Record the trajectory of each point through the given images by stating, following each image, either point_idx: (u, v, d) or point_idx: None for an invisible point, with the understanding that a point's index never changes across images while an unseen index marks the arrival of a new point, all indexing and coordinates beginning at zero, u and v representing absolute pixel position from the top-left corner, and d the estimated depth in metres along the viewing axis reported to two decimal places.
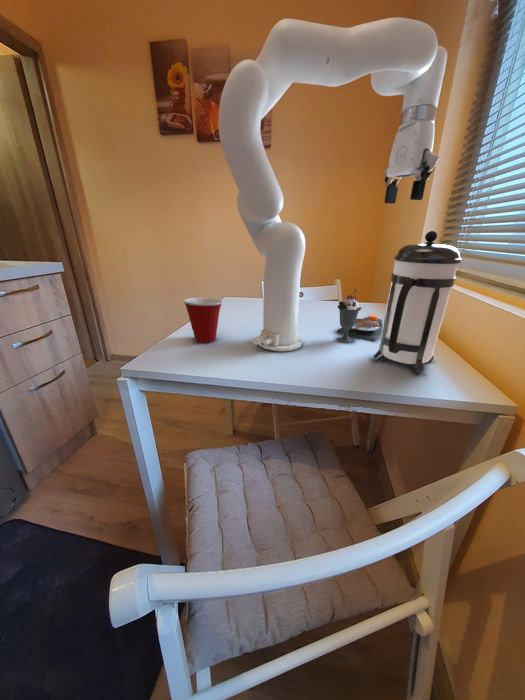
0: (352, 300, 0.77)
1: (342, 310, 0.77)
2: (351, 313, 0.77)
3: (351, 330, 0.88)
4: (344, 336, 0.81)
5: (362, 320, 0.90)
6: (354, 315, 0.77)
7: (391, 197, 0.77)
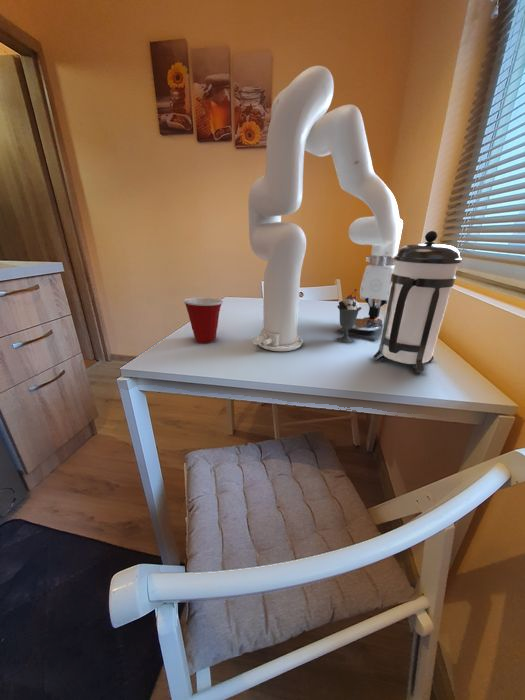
0: (352, 300, 0.77)
1: (342, 310, 0.77)
2: (351, 313, 0.77)
3: (351, 330, 0.88)
4: (344, 336, 0.81)
5: (362, 320, 0.90)
6: (354, 315, 0.77)
7: None
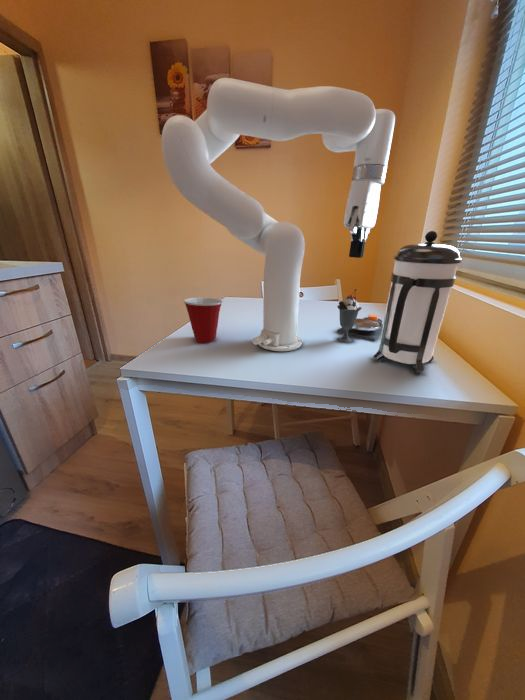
0: (352, 300, 0.77)
1: (342, 310, 0.77)
2: (351, 313, 0.77)
3: (351, 330, 0.88)
4: (344, 336, 0.81)
5: (362, 320, 0.90)
6: (354, 315, 0.77)
7: None
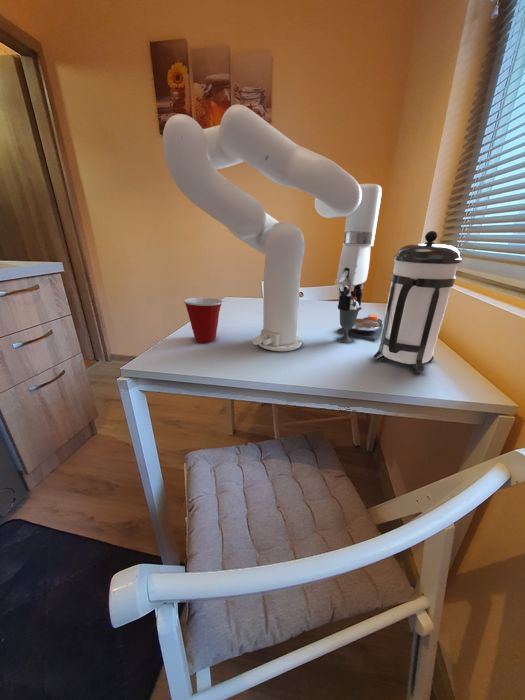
0: (352, 300, 0.77)
1: (342, 310, 0.77)
2: (351, 313, 0.77)
3: (351, 330, 0.88)
4: (344, 336, 0.81)
5: (362, 320, 0.90)
6: (354, 315, 0.77)
7: None
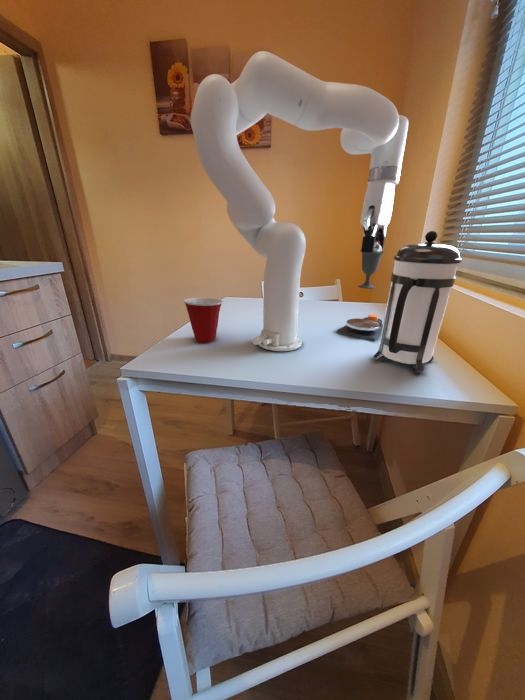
0: (375, 243, 0.76)
1: (365, 253, 0.77)
2: (374, 256, 0.76)
3: (351, 330, 0.88)
4: (366, 282, 0.81)
5: (362, 320, 0.90)
6: (377, 258, 0.77)
7: None
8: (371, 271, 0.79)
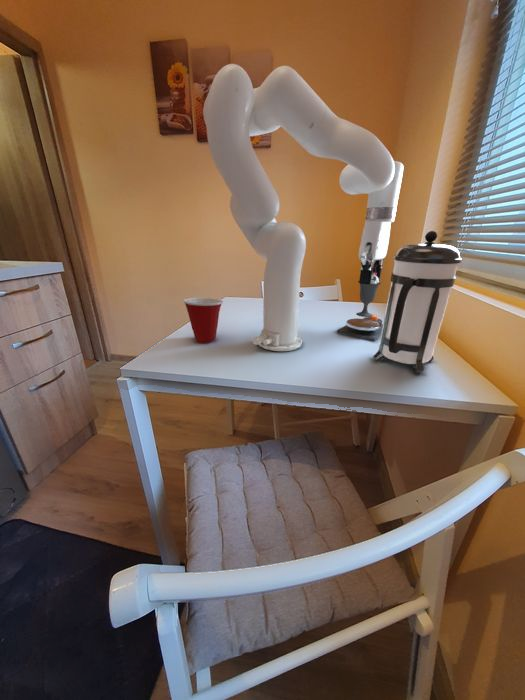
0: (373, 275, 0.81)
1: (363, 284, 0.81)
2: (371, 287, 0.81)
3: (351, 330, 0.88)
4: (364, 310, 0.86)
5: (362, 320, 0.90)
6: (374, 289, 0.81)
7: None
8: (368, 301, 0.83)
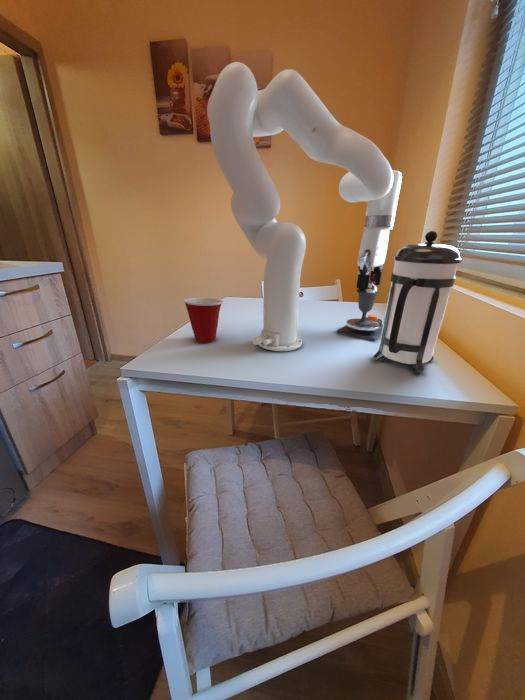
0: (371, 284, 0.82)
1: (361, 293, 0.82)
2: (370, 296, 0.82)
3: (351, 330, 0.88)
4: (362, 319, 0.87)
5: None
6: (373, 298, 0.82)
7: (374, 280, 0.86)
8: (367, 309, 0.84)
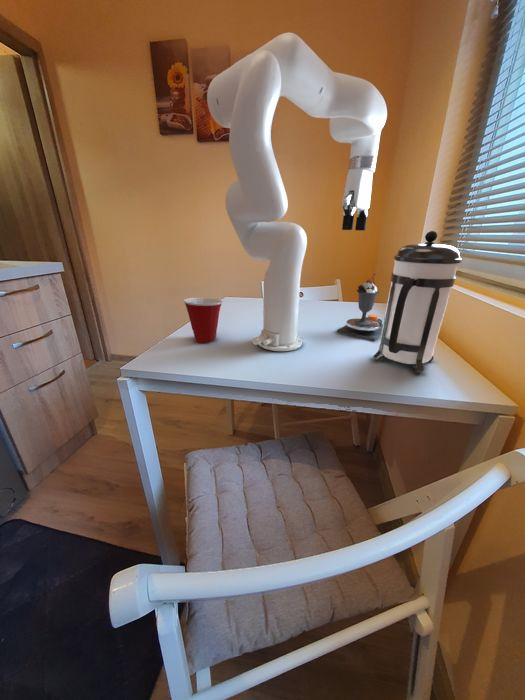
0: (371, 284, 0.82)
1: (361, 293, 0.82)
2: (370, 296, 0.82)
3: (351, 330, 0.88)
4: (362, 319, 0.87)
5: None
6: (373, 298, 0.82)
7: (359, 225, 0.91)
8: (367, 309, 0.84)
